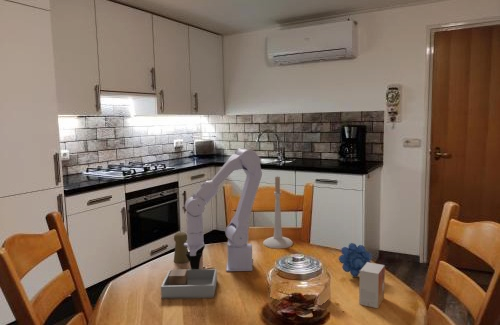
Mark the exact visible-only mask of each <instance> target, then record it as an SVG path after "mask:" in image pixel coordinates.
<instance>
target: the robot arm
mask: <svg viewBox="0 0 500 325" xmlns="http://www.w3.org/2000/svg"><path fill="white" fill-rule="evenodd" d="M260 161H261V158H260V156H259V155H258V153H257V152H256V151H255V150H253V149H248V148H245V147H239V148H238V149H236V150H235V152H234V153H232V154H231V155H230V157H229V158H228V159H227V160H226V161H225V163H224V164H223V165H222V166H221V168H220V169H219V170H218V172H216V174H215V175H214V176H213V177H212V178H211V179H210V180H205V182H201V183H200V186H199V188H198V189H197V190H196V191H195V193H192V194H191V197H189V198H187V199H186V200H185V203H184V206H183V207H184V209H185V210H186V234H187V241H186V243H184V246H187V248H188V252H186V256H187V258H188V260H189V261H188V262H190V265H191V269H199V264H200V258H201V256H202V254H203V252H204V249H205V248H206V244H205V242H204V218H203V213H204V211H205V209H206V208H205V207H206V206H207V204H208V203H210V201H211V200H212V199H213V198H214V197H215V196H216V195H217V193H218V192H219V186H220V185H222V183H223V182H224V181H225V180H226V179H227V178H228V177H230V175H231V174H232V173H233V172H234V171H238V170H243V171H244V173H245V175H246V177H245V181H244V184H243V187H242V191H241V194H240V197H239V200H238V204H237V206H236V210H235V214H234V216H233V217H232V218H231V220H230V222H229V223H228V225H227V226H226V228H225V231H224V233H225V236H226V238H227V239H228V240H227V244H226V248H227V252H226V254H227V262H226V269H225V271H226V272H253V264H254V258H253V244H252V243H248V242H249V239H250V238H249V229H250V225H249V220H250V217H251V216H250V215H251V214H252V213H251V212H252V210H253V207H254V203H255V201H256V200H255V199H256V196H257V193H258V190H259V186H260V182H261V179H262V176H263V172H262V167H261V162H260ZM198 252H199V253H198Z"/></svg>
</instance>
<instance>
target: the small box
mask: <svg viewBox="0 0 500 325" xmlns="http://www.w3.org/2000/svg"><path fill="white" fill-rule="evenodd" d="M370 262H371V261H370ZM370 262H367V263H366V264H365V265H364V267H363V268H362V269H361V270H360V273H359V282H358V283H359V289H358V290H359V292H358V294H359V295H358V304H359V305H361V306H366V307H369V308H374V309H379V308H380V305H381V304H382V302H383V300H384V299H385V281H386V280H385V277H386V276H385V275H386V272H385V271H386V265H385V264H380V263H374V262H371V263H370ZM383 298H384V299H383ZM380 303H381V304H380Z"/></svg>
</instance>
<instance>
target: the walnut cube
mask: <svg viewBox="0 0 500 325" xmlns="http://www.w3.org/2000/svg"><path fill="white" fill-rule="evenodd" d="M171 270H172V271H171V273H170V275H169V286H176V285H187V284H188V283H187V270H182V269H171Z"/></svg>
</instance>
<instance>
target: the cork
mask: <svg viewBox="0 0 500 325" xmlns="http://www.w3.org/2000/svg"><path fill="white" fill-rule="evenodd" d="M173 240H174V242H175V243H174V244H175V245H174V256H173V262H174V263H176V264H186V263H188V262H189V260H188V258H187V256H186V252H189V249H188V247H187V246H184V243H187V232H182V231H181V232H180V231H179V232H177V233H175V234H174V235H173Z"/></svg>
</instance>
